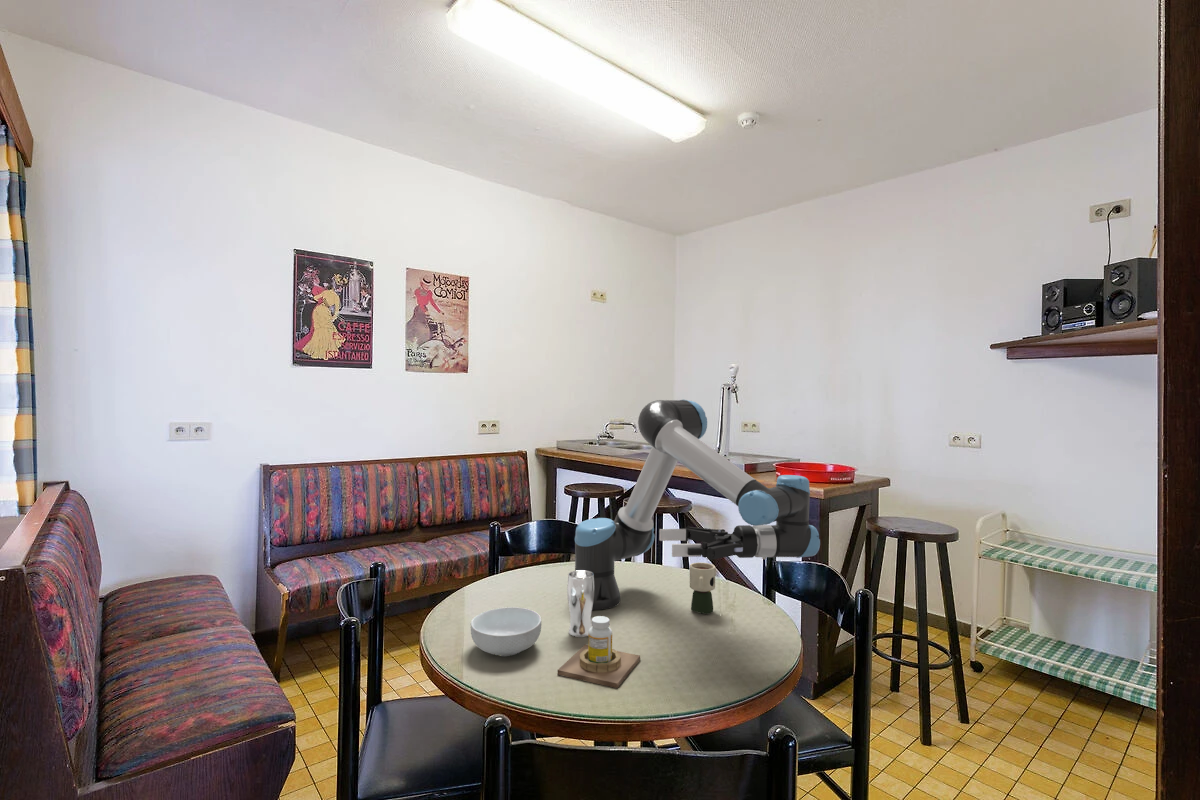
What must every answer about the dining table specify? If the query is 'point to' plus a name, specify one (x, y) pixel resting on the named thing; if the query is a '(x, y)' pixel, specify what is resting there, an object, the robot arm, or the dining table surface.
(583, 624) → the silver metal tumbler
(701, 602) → the character mug
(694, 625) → the dining table surface
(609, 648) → the supplement bottle
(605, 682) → the collar stand
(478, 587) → the dining table surface
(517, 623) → the cereal bowl
